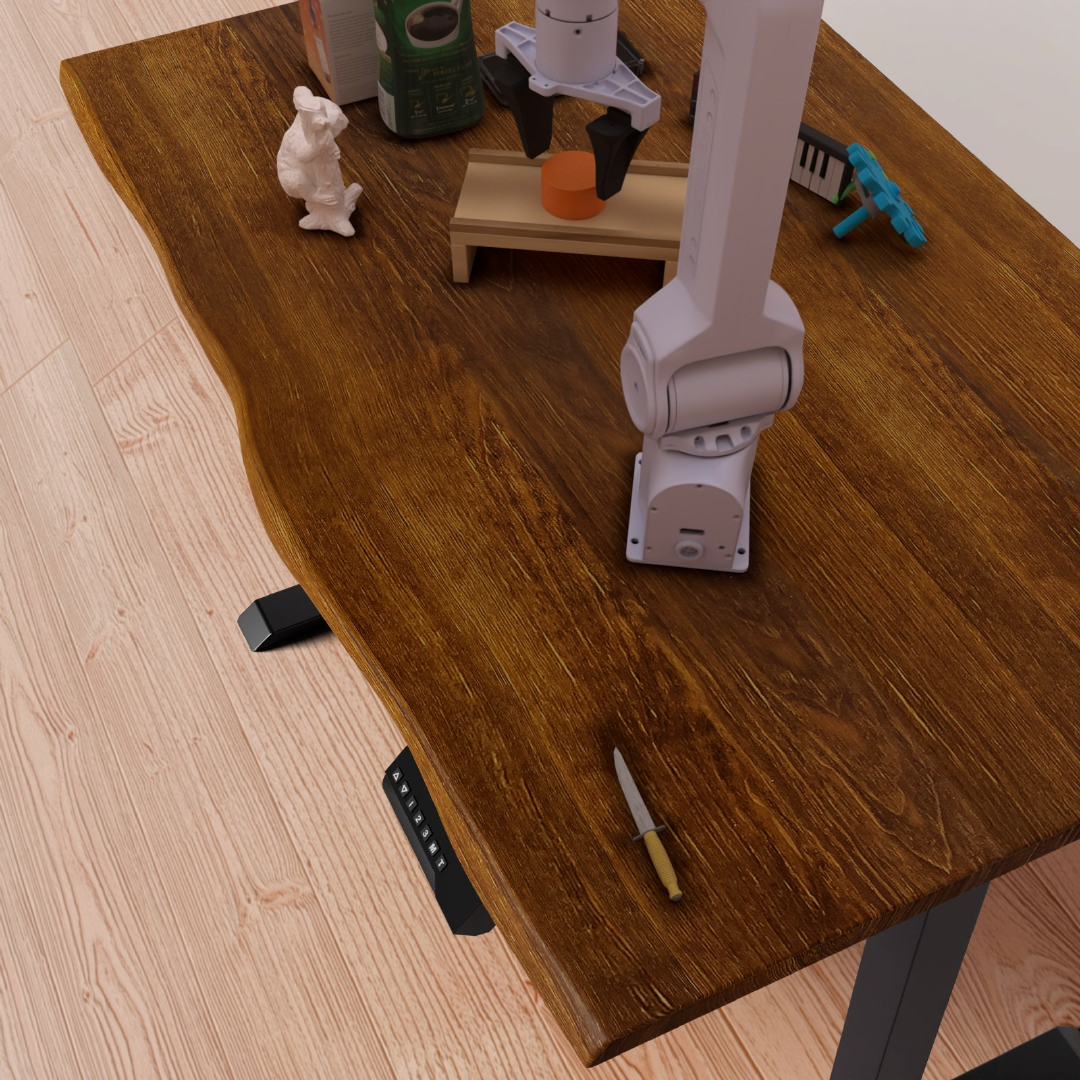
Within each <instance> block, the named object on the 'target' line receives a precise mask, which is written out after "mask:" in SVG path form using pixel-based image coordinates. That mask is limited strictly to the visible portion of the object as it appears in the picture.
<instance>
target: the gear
mask: <svg viewBox="0 0 1080 1080" xmlns="http://www.w3.org/2000/svg"><path fill="white" fill-rule="evenodd" d="M846 150H847V151H848V153H849V154H850V156H849V161H850V162H851V163H852V165H853V166H854V169H856V171H853V175H852V179H851V182H850V183H849V185H848V186H847V188H846V189H845V191H844V192H843V194H842V197H841V200H842V199H843V198H845V197H846V196H847V195H848V196H849V195H850V194H851V193H853V192H854V191H856V190H857V193H858V195H859V198H860V200H861V203H862V206H860V207H859V208H858V209H857V210H855V211H854V212H853V213H851V214H850V215H849V216H847V217H846V218H845V219H843V220H841V222H839V223H838V224H836V225H835V226H834V227H832V231H833V233H834V234H835V236H836V237H837V238H838V239H841V238H842V237H844V236H845V235H847V234H848V233H849V232H850V231H852V230H854V229H855V228H857V226H859V225H860V224H862V223H863V222H864V221H866V219H868V218H869V217H872V218H873V219H875V218H876V217H877V216H879V215H880V214H881V213H884V212H886V213H887V214H888V215H889V217H890V218H891V220H890V223H891V225H892V226H893V228H894V229H895V230H896V232H897V233H898V234H899V235H901V234H902V233H903V237H904V238H905V240H906V242H907V243H908V244H909V245H910V246H911V247H912V248H916V249H919V248H920V247H922V246H923V245H925V244H927V242H928V240H927V238H926V236H925V235H924V233H925V232H924V228H923V227H922V225H921V224H920V223H919V222H918V221H917V220H916V218H915V216H916V215H915V213H914V211H913V209H912V208H911V207H910V205H909V204H908V203H907V202H906V201H905V200H904V199H903V198H902V197H901V196H900V194H902V190H901V188H900V187H899V186H898V184H897V183H896V182H893V180H890V179H889V177H888V176H887V175H886V173H885V170H884V169H883V168H882V166H881V165H880V163H879V162H878V160H877V157H876V156H875V154H874V153H873V152H872V151H871V150H867V149H866V148H865V147H864V146H863V145H862V144H859V143H858V142H856V141H854V142H853V143H852V144H851V145H849V146H848V148H847V149H846ZM870 192H871V193H872V194H870ZM848 196H847V197H848ZM831 199H832V200H833V202H834V203H835V204H837V202H838V200H839V198H838V193H836V194H834V195H833V196H832V197H831ZM833 202H832V203H833ZM834 203H833V204H834ZM835 204H834V205H835Z"/></svg>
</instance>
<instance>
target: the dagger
mask: <svg viewBox="0 0 1080 1080" xmlns="http://www.w3.org/2000/svg"><path fill="white" fill-rule="evenodd" d="M613 758H614V768H615V771H616V775H617V779H618V782H619V784H620V788H621V790H622V792H623V795H624V797H625V800H626V802H627V805H628V807H629V810H630V812H631V815H632V817H633V820H634V823H635V824H636V825H635V826H636V827H637V831H638V832H639V835H637V836H635V837H633V838H632V842H637V841H639V840H642V839H644V842H645V846H646V849H647V851H648V854H649V857H650V859H651V861H652V864H653V866H654V869H655V871H656V873H657V875H658V877H659V879H660V881H661V883H662V885H663V887H664V888H666V889H667V891H668V893H669V899H670V900H671V901H673V902H678V901H679V900H681V899H682V896H683V891H682V890H680V888H679V885H678V877H677V875H676V873H675V870H674V869H675V868H673V865H672V862H671V860H670V858H669V855H668V853H667V851H666V849H665V846H664V845H663V843H662V841H661V840H660V838H659V836H658V834H659V833H660V832H662V831H663V830H666V828H667V827H666V825H665V824H662V825H660V826H657V827H656V825H655V823H654V821H653V819H652V817H651V814H650V813H649V810H648V809H647V806H646V804H645V802H644V799H643V798H642V796H641V793H640V792H639V790H638V789H639V788H638V787H637V785H636V782H635V780H634V778H633V776H632V774H631V772H630V770H629V768H628V766H627V764H626V762H625V760H624V758H623V756H622V753H621V752H620V750H619V749H618V748H617V747H616V746H615V748H614V751H613Z"/></svg>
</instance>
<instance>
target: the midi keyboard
mask: <svg viewBox="0 0 1080 1080" xmlns="http://www.w3.org/2000/svg"><path fill="white" fill-rule="evenodd" d="M692 76H693V77H692V87H691V95H690V104H689V115H688V123H689V124H690V125H692V126H694V121H695V112H696V104H697V95H698V87H699V78H700V69H699V70H696V71H695V72H694V73H693V75H692ZM848 147H849V146H848V145H846V144H844V143H842V142H840V141H839V140H836V139H835V138H833V137H831V136H829V135H828V134H826V133H824V132H821V131H820V130H818V129H816V128H814V127H813V126H811V125H809V124H808V123H805V122H803V121H801V122H800V127H799V133H798V138H797V143H796V148H795V153H794V158H793V163H792V168H791V173H790V178H789V179H791V180H792V181H793V182H795V183H797V184H799V185H801V186H802V187H804V188H805V189H808V190H809V191H811V192H813V193H814V194H817V195H819V196H821V197H822V198H824V199H826V200H828V201H829V202H830V203H832V204H834V207H836V208H839V207H841V206H842V205H843V204H845V203H846V202H847V200H848V196H849V195H847V196H846V197H845V198H843V199H842V200H841V197H842V194H843V192H844V191H845V189H846V188H847V186H848V185H849V183H850V182H851V181H852V180H853V179H852V175H853V173H854V172H855V171H854V170H855V167H854V166H853V165H852V163H851V162H850V161H849V156H850V154H849V153H848V151H847V150H846V149H847V148H848ZM836 193H838V198H839V200H838V202H837V204H835V203H834V202H833V200H832V199H831V197H832V196H833V195H834V194H836Z"/></svg>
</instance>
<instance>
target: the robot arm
mask: <svg viewBox="0 0 1080 1080" xmlns="http://www.w3.org/2000/svg"><path fill="white" fill-rule="evenodd" d="M534 2H535V3H534V5H535V6H534V9H535V10H534V11H535V14H534V15H535V16H534V17H535V19H534V21H535V23H534V24H535V25H534V26H535V28H534V27H531V26H526V25H524V24H522V23H520V22H517V21H515V20H513V21H510V22H508V23H506V24H505V25H503V26H501V27H499V28H497V29H495V31H494V41H495V42H494V43H495V51H496V55H498V56H500V57H501V58H503V59H507V62H506V63H505V67H503V68H501V69H500V70H498V71H497V72H496V73H495V74H494V83H495V85H496V86H497V88H498V89H499V90H500V92H501V93H502V95H503V97H504V98H505V100H506V102H507V104H508V106H507V107H508V108H509V110H510V112H511V114H512V116H513V119H514V122H515V126H516V127H517V132H518V134H519V138H520V142H521V144H522V148H523V152H525V154H526V157H528V158H530V159H531V160H532V159H534V158H535V157H537V156H539V155H540V154H542V153H546V152H547V151H549V150H550V148H551V144H552V137H553V123H554V120H553V119H554V106H555V105H554V104H555V100H556V99H555V97H556V96H555V93H560V94H562V95H565V96H568V97H571V98H572V97H573V98H577V99H580V100H583V101H584V100H585V101H588V102H592V103H595V104H596V103H597V104H600V105H603V106H605V107H606V114H605V113H604V114H602V115H600V116H598V117H597V118H595V119H593V120H592V121H590V122H588V123H587V124H586V125H585V130H586V133H587V135H588V138H589V140H590V144H591V147H592V151H593V154H594V157H595V167H596V169H595V186H596V193H597V198H599V199H601V200H603V201H606V200H607V199H609V198H611V197H612V196H614V195H615V194H617V193H618V192H620V191H621V189H622V185H623V182H624V179H625V176H626V173H627V170H628V168H629V165H630V163H631V160H633V158H634V156H635V154H636V152H637V150H638V148H639V146H640V145H641V143H642V141H643V139H644V138H645V137H646V135H647V133H648V132H649V131H650V129H651V127H653V125H654V124H656V123H657V122H659V121H660V117H661V107H662V106H661V105H662V95H661V94H659V93H657V92H655V91H653V90H652V89H650V88H649V87H648V86H647V85H646V84H644V82H642V81H641V79H639V77H638V76H637V77H636V76H635V74H634V73H633V72H632V71H631V70H630V69H629V68H628V67H627V66H626V65H625V64H624V63H623V62H622V61H621V60H620V59H619V58H618V57H617V56H616V42H617V29H618V23H619V22H618V21H619V5H620V4H619V3H620V1H619V0H534ZM697 2H699V3H701V4H702V5H703V8H704V10H705V13H706V19H705V26H704V27H705V29H704V36H703V45H702V53H701V62H700V69H699V70H700V78H699V87H698V95H697V104H696V112H695V121H694V125H693V131H692V141H691V147H690V157H689V163H688V164H689V172H688V181H687V190H686V198H685V207H684V215H683V224H682V233H681V241H680V250H679V258H678V267H677V275H676V277H675V278H674V279H673V280H672V281H670V282H669V283H668V284H667V285H666V286H664V287H663V286H662V288H660V289H659V290H658V291H656V292H654V294H653V295H652V296H651V297H649V298H648V299H646V300H645V301H644V302H643V303H642V304H641V305H640V306H638V307H637V308H636V309H635V310H634V312H633V319H632V323H631V325H630V331H629V336H628V338H627V340H626V343H625V345H624V346H623V348H622V350H621V354H620V366H619V367H620V368H619V369H620V380H621V381H620V382H621V389H622V393H623V397H624V402H625V405H626V408H627V411H628V415H629V416H630V419H631V421H632V422H633V425H634V426H635V427H636V429H637V430H638V431H639V432H641V433H642V434H643V441H642V449H641V450H642V452H641V451H640V452H638V453H637V454H636V455H635V460H634V461H635V462H634V472H633V482H632V493H631V502H630V510H629V511H630V512H629V520H628V532H627V541H626V551H625V554H626V555H625V557H626V559H627V561H629V562H631V563H635V564H636V563H637V564H647V565H658V566H668V567H678V568H688V569H699V570H708V571H718V572H729V573H739V574H741V573H745V572H747V571H748V570H749V569H748V568H749V564H750V563H749V562H750V517H751V516H750V512H751V511H750V510H751V508H750V507H751V476H752V471H753V468H754V467H753V466H754V462H755V457H756V453H757V448H758V445H759V441H760V440H759V439H760V435H761V432H762V431H764V430H766V429H768V428H772V427H773V424H774V421H775V415H776V412H778V413H781V412H786V411H789V410H791V409H793V407H794V406H795V405H796V403H797V401H798V398H799V396H800V394H801V392H802V389H803V386H804V378H805V362H804V356H803V353H804V352H803V350H804V340H805V339H804V338H805V332H806V329H805V325H804V322H803V320H802V317H801V315H800V313H799V311H798V308H797V307H796V304H795V303H794V301H793V300H792V298H791V296H790V295H789V294H788V292H787V291H786V290H785V289H784V288H783V287H782V286H781V285H780V284H778V283H777V282H776V281H774V280H773V279H771V274H772V270H773V269H772V268H773V265H774V260H775V259H774V258H775V255H776V254H775V253H776V248H777V243H778V239H779V233H780V228H781V223H782V219H783V218H782V217H783V214H784V207H785V203H786V198H787V193H788V188H789V181H790V179H791V178H790V173H791V168H792V163H793V158H794V153H795V148H796V143H797V138H798V133H799V127H800V122H802V117H803V112H804V108H805V101H806V96H807V92H808V86H809V82H810V77H811V72H812V66H813V62H814V57H815V53H816V52H815V51H816V45H817V40H818V35H819V30H820V25H821V21H822V15H823V10H824V4H825V0H697ZM633 542H636V543H633ZM740 553H741V554H740Z"/></svg>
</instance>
